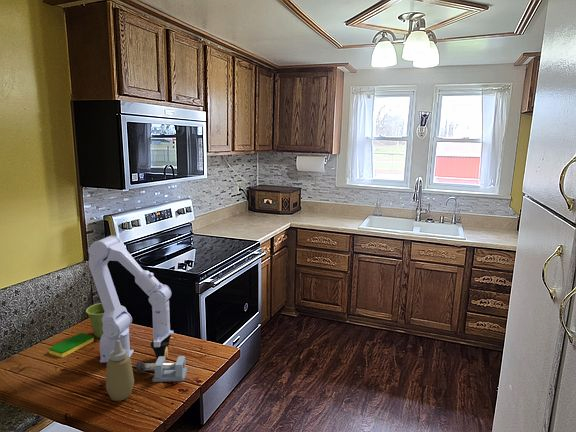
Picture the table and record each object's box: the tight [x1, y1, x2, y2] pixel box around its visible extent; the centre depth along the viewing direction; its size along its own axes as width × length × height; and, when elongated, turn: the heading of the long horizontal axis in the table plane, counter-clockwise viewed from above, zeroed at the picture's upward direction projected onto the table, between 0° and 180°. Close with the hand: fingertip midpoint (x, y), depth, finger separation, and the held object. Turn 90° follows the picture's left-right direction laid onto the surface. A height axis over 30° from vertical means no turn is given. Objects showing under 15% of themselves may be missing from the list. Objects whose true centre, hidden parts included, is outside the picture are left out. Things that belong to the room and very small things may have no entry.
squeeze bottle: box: [105, 340, 135, 402], centre depth 119 cm, size 8×8×18 cm
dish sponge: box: [48, 332, 95, 358], centre depth 149 cm, size 7×14×2 cm, turn 157°
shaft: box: [135, 361, 176, 373], centre depth 131 cm, size 12×3×3 cm, turn 95°
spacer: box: [165, 346, 169, 359], centre depth 141 cm, size 3×5×4 cm, turn 5°
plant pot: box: [85, 302, 105, 339], centre depth 158 cm, size 12×12×11 cm
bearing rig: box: [152, 355, 188, 383], centre depth 131 cm, size 10×6×6 cm, turn 95°
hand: (162, 356), depth 141 cm, fingers closed on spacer, 5 cm apart
